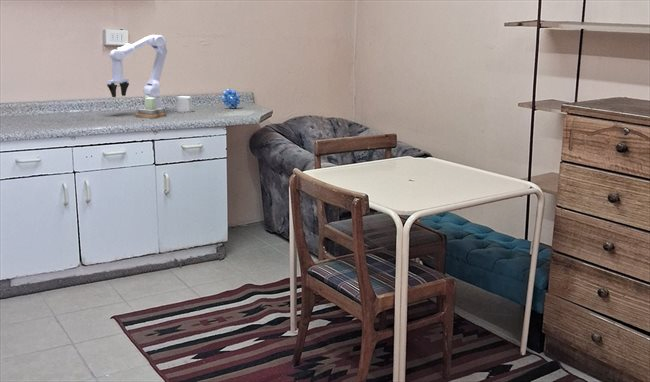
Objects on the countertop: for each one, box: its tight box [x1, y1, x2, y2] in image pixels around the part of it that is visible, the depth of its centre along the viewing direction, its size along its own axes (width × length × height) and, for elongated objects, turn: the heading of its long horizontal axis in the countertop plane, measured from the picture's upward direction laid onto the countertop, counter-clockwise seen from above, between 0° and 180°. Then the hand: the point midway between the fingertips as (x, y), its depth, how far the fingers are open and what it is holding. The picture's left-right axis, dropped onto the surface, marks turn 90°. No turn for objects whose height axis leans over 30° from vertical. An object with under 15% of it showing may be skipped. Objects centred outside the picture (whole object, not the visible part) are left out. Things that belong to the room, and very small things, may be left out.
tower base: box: [134, 112, 167, 120], centre depth 401 cm, size 12×12×2 cm
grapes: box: [221, 88, 241, 109], centre depth 438 cm, size 12×7×12 cm, turn 114°
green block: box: [144, 97, 156, 110], centre depth 400 cm, size 4×4×6 cm
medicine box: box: [175, 95, 193, 113], centre depth 424 cm, size 8×4×9 cm, turn 84°
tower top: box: [137, 107, 165, 115], centre depth 400 cm, size 10×10×2 cm
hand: (118, 96), depth 404 cm, fingers open, 7 cm apart
